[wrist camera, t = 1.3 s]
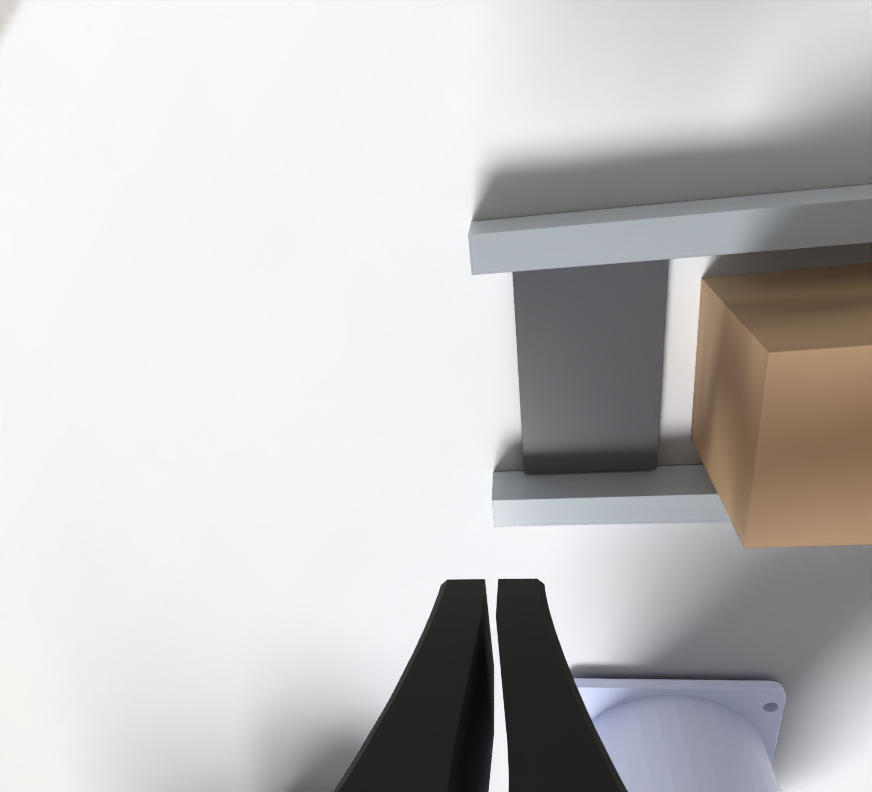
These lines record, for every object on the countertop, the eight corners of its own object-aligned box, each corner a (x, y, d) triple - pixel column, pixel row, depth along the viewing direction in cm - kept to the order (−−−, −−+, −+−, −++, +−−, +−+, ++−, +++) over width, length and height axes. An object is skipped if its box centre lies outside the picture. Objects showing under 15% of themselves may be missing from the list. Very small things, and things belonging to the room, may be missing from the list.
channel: (1201, 476, 18) (1257, 509, 16) (495, 496, 20) (494, 526, 19) (1386, 135, 14) (1481, 143, 12) (471, 221, 16) (468, 235, 15)
